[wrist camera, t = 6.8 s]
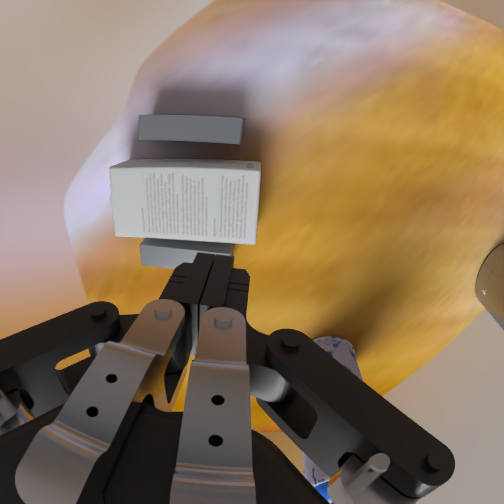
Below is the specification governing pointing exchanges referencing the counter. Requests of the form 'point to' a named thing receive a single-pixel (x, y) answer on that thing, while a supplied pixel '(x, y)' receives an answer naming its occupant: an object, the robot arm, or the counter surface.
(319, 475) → the aerosol can
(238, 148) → the counter surface
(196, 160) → the skincare box
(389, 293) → the counter surface
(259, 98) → the counter surface
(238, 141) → the charcoal cradle
